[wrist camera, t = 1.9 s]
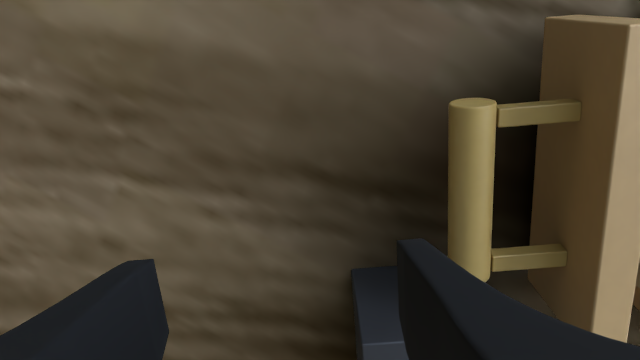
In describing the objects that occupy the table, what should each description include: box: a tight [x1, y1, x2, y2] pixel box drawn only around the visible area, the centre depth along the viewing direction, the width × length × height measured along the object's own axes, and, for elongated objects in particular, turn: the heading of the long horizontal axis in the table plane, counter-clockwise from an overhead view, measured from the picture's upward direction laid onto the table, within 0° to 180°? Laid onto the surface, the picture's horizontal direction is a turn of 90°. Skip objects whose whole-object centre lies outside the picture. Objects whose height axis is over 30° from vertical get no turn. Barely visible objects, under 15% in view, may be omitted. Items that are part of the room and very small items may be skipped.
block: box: [351, 266, 409, 360], centre depth 20 cm, size 5×5×5 cm
